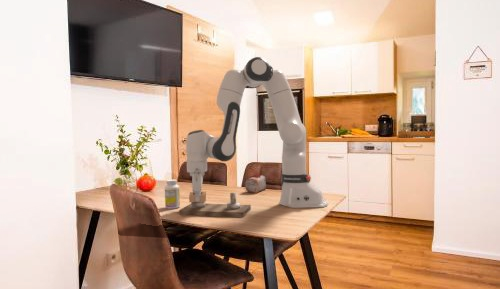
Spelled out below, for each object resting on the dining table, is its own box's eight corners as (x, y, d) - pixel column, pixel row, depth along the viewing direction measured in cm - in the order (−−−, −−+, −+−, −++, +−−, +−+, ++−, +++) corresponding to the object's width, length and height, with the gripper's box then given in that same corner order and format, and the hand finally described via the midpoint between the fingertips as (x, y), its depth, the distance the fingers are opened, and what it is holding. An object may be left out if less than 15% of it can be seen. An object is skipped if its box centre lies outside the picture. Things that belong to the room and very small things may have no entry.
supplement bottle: (173, 205, 172) (172, 178, 171) (182, 207, 167) (182, 179, 167) (162, 208, 166) (161, 180, 166) (171, 209, 162) (170, 181, 161)
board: (250, 209, 160) (250, 188, 159) (243, 217, 146) (242, 194, 145) (191, 207, 166) (191, 187, 165) (179, 215, 152) (178, 192, 152)
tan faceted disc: (206, 198, 161) (205, 191, 161) (205, 201, 154) (205, 194, 154) (190, 198, 160) (190, 192, 160) (189, 202, 153) (189, 195, 153)
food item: (257, 194, 195) (257, 176, 195) (244, 193, 199) (244, 175, 198) (267, 189, 208) (266, 172, 207) (254, 189, 211) (254, 172, 211)
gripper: (203, 170, 146) (204, 203, 147) (204, 164, 167) (205, 194, 167) (188, 170, 146) (189, 204, 146) (190, 165, 166) (191, 194, 167)
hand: (198, 198), depth 157 cm, fingers closed on tan faceted disc, 7 cm apart
